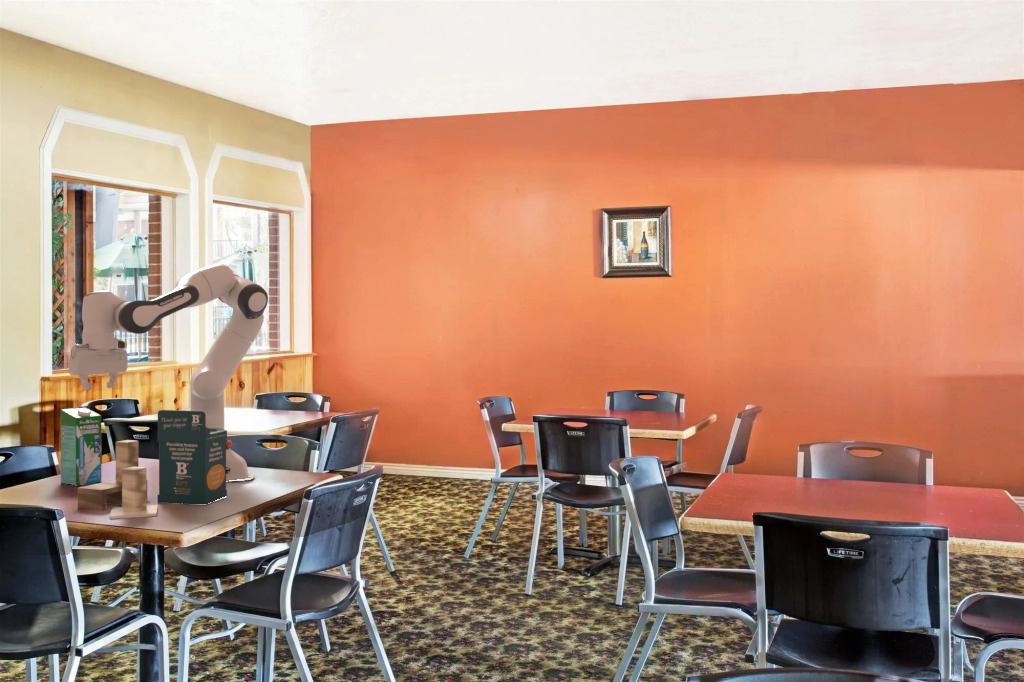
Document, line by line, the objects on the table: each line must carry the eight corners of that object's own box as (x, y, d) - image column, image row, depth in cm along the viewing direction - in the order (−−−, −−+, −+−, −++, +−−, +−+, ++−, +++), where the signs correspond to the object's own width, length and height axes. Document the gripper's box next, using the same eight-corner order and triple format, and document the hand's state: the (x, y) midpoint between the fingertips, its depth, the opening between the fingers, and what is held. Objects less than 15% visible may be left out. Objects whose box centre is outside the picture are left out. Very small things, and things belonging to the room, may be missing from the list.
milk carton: (76, 486, 291) (76, 410, 291) (60, 483, 296) (60, 409, 296) (101, 482, 299) (101, 408, 298) (85, 479, 304) (85, 407, 303)
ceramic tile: (157, 507, 258) (157, 504, 258) (156, 516, 247) (156, 513, 247) (112, 510, 254) (112, 507, 254) (109, 519, 243) (109, 516, 243)
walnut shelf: (124, 497, 274) (123, 477, 274) (147, 499, 271) (147, 479, 271) (77, 508, 257) (77, 487, 257) (102, 510, 254) (102, 489, 254)
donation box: (157, 502, 266) (157, 409, 265) (188, 492, 281) (188, 405, 281) (205, 505, 262) (205, 411, 262) (234, 495, 278) (234, 406, 277)
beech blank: (126, 478, 272) (126, 440, 271) (138, 479, 270) (138, 440, 270) (115, 481, 267) (115, 441, 267) (127, 482, 266) (127, 442, 266)
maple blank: (133, 508, 254) (133, 466, 253) (146, 509, 252) (146, 467, 252) (122, 511, 249) (122, 468, 249) (135, 512, 248) (134, 469, 248)
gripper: (79, 344, 258) (80, 391, 259) (131, 342, 278) (131, 386, 278) (62, 344, 260) (63, 391, 261) (115, 342, 280) (115, 386, 280)
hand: (99, 388), depth 269 cm, fingers open, 8 cm apart
